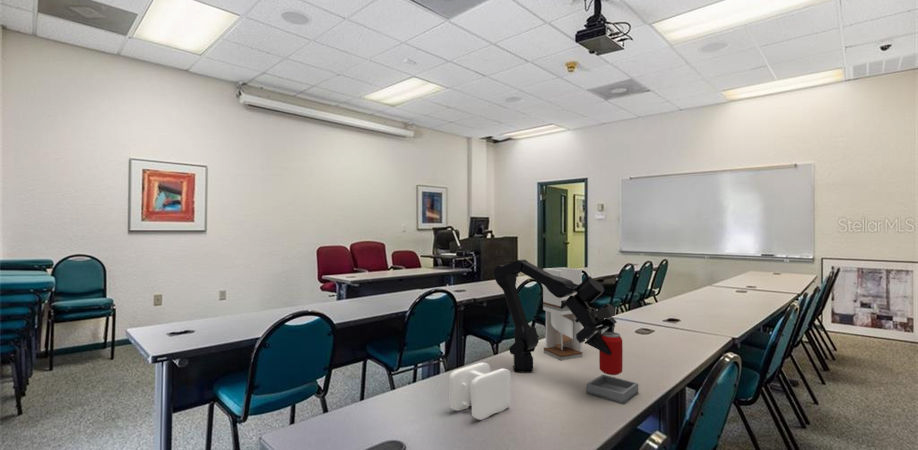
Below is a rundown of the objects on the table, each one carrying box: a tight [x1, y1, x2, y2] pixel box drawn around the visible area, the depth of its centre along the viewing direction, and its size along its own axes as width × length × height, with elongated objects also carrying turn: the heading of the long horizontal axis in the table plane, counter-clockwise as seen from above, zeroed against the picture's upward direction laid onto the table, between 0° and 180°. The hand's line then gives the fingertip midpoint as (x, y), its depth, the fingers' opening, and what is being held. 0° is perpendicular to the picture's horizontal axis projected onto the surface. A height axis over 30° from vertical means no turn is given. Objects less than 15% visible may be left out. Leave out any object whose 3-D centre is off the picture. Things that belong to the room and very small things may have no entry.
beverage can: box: [598, 331, 624, 376], centre depth 130 cm, size 7×7×12 cm
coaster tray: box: [585, 374, 639, 405], centre depth 130 cm, size 12×12×3 cm
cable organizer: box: [448, 361, 511, 421], centre depth 119 cm, size 15×11×12 cm
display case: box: [542, 267, 583, 361], centre depth 170 cm, size 11×11×35 cm
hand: (615, 352), depth 129 cm, fingers closed on beverage can, 7 cm apart
